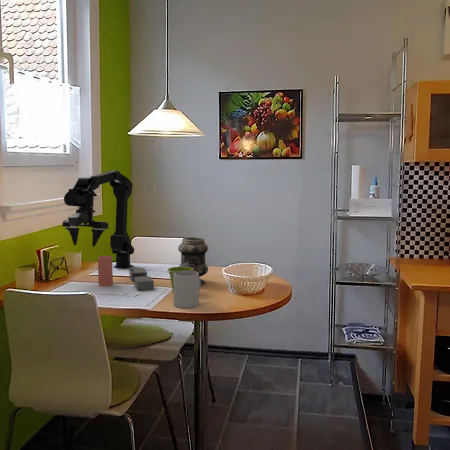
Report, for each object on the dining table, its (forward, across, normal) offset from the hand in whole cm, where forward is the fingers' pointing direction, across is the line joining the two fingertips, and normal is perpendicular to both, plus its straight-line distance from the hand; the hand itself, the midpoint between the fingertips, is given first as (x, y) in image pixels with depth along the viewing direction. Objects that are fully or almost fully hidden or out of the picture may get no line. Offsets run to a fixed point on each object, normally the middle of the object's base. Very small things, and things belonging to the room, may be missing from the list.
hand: (84, 245), depth 210 cm
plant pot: (+14, +45, 0) cm, 47 cm away
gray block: (+14, +24, +5) cm, 28 cm away
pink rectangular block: (+14, +12, -2) cm, 19 cm away
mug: (+16, +55, -13) cm, 59 cm away
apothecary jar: (+13, +43, +14) cm, 47 cm away
